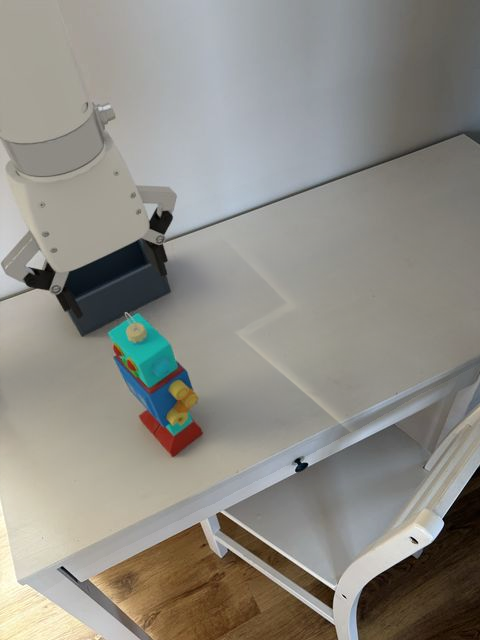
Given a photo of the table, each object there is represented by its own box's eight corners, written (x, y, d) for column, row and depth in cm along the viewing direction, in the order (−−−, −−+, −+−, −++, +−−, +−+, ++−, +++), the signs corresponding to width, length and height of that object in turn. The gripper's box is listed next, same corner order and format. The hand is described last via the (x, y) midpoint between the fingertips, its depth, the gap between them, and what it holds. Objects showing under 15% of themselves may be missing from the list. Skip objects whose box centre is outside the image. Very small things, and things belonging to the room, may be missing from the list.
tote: (81, 336, 92) (65, 307, 86) (61, 303, 97) (45, 272, 91) (171, 291, 97) (161, 260, 91) (147, 261, 102) (136, 230, 96)
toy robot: (135, 414, 81) (77, 303, 61) (167, 391, 83) (122, 276, 64) (179, 465, 75) (132, 360, 56) (213, 438, 78) (178, 328, 58)
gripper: (132, 85, 47) (173, 236, 61) (-64, 160, 42) (28, 305, 56) (171, 119, 43) (206, 272, 57) (-41, 205, 38) (53, 351, 52)
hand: (118, 288), depth 56 cm, fingers open, 9 cm apart
